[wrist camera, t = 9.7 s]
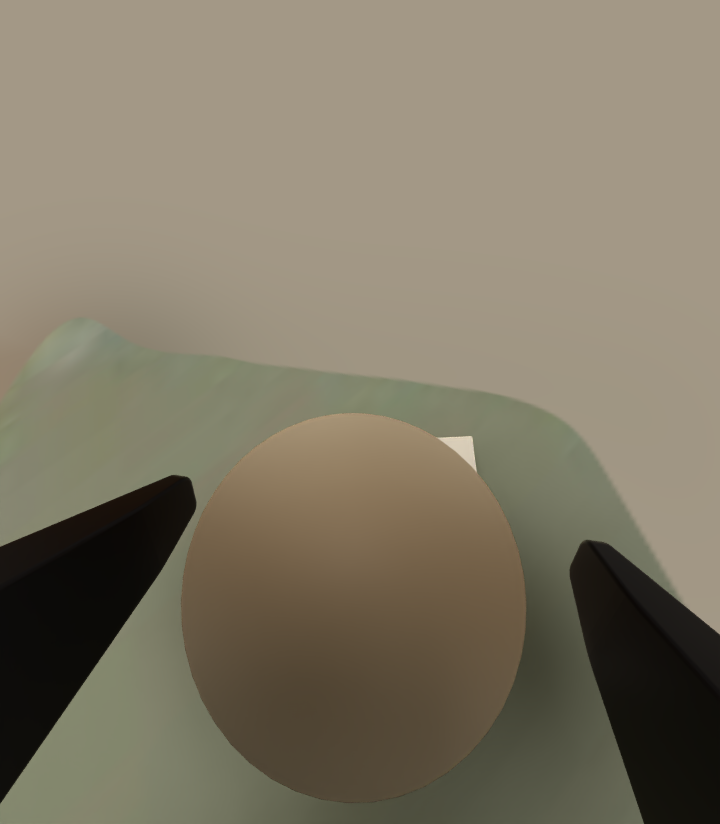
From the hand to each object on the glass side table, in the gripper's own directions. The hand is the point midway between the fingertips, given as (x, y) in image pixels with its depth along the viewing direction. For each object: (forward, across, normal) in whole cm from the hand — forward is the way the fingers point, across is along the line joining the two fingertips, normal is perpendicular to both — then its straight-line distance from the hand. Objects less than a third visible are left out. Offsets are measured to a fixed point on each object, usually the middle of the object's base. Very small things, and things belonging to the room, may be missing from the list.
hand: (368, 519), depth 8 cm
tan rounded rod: (+6, 0, +7) cm, 10 cm away
